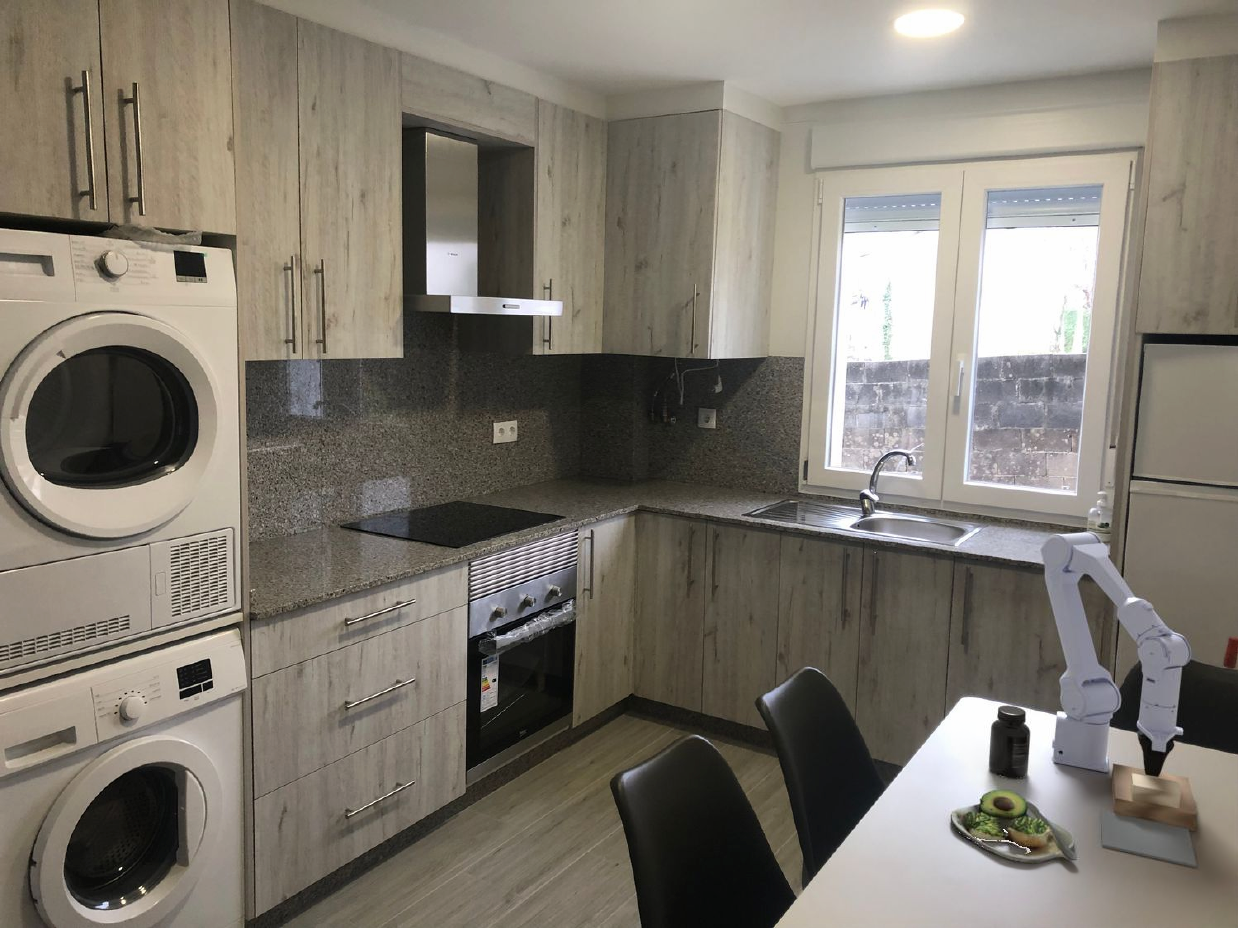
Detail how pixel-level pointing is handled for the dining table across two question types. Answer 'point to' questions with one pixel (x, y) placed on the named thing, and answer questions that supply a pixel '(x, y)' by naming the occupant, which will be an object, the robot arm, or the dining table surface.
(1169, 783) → the ash block
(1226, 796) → the dining table surface
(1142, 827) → the rubber mat
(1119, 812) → the block
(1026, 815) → the salad plate
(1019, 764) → the supplement bottle
